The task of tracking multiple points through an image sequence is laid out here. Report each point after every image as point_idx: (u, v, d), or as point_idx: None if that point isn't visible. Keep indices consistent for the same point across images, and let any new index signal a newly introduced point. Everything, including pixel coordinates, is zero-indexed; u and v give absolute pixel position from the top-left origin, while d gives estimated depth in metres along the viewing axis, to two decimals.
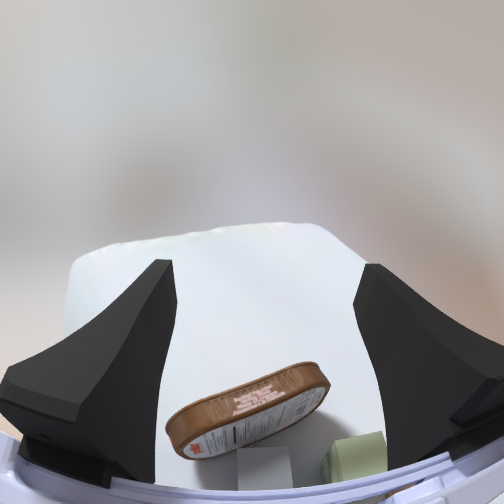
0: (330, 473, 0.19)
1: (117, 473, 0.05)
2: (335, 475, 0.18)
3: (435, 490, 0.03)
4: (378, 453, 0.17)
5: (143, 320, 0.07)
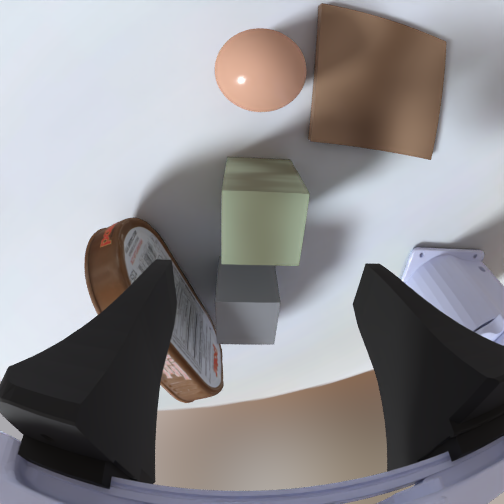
0: None
1: (117, 474, 0.05)
2: None
3: (435, 490, 0.03)
4: (265, 208, 0.14)
5: (143, 320, 0.07)
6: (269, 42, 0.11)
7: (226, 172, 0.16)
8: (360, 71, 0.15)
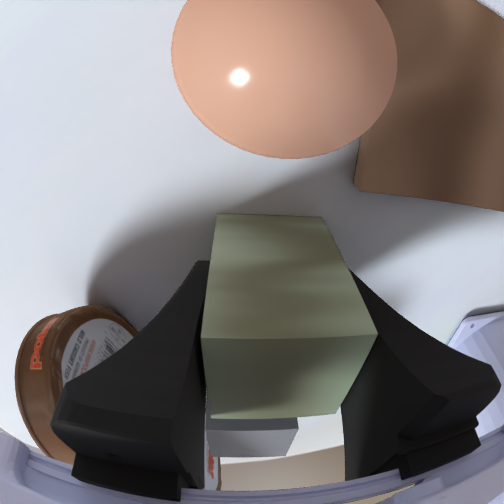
0: None
1: (183, 484, 0.05)
2: None
3: (435, 490, 0.03)
4: (289, 361, 0.07)
5: (200, 323, 0.07)
6: None
7: (213, 262, 0.08)
8: (442, 75, 0.07)
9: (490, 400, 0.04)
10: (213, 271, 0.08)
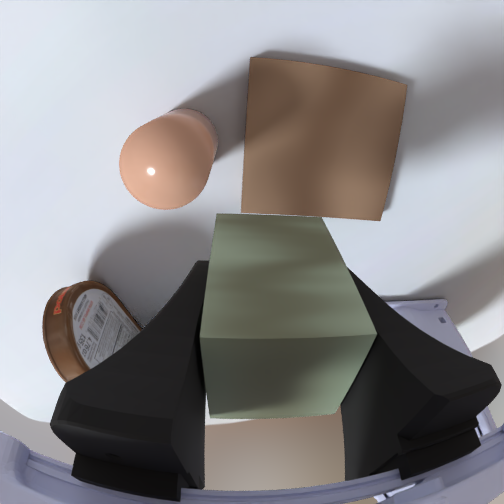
0: None
1: (183, 484, 0.05)
2: None
3: (435, 490, 0.03)
4: (288, 361, 0.07)
5: (200, 323, 0.08)
6: (169, 135, 0.11)
7: (213, 262, 0.08)
8: (295, 134, 0.15)
9: (490, 400, 0.04)
10: (212, 271, 0.08)
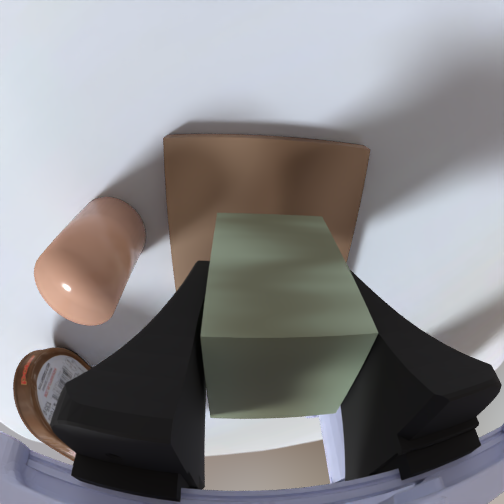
0: None
1: (183, 484, 0.05)
2: None
3: (435, 490, 0.03)
4: (289, 360, 0.07)
5: (200, 323, 0.07)
6: (69, 264, 0.10)
7: (213, 261, 0.08)
8: None
9: (490, 400, 0.04)
10: (213, 270, 0.08)
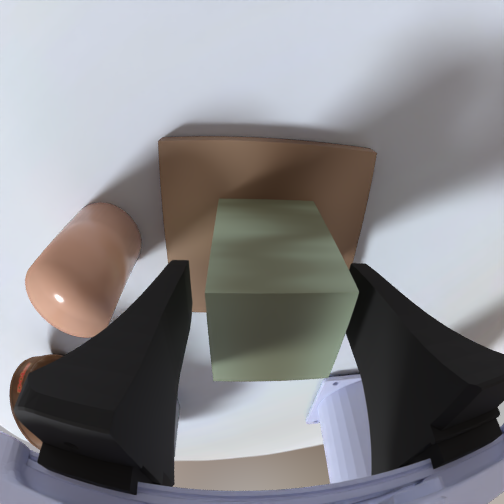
0: None
1: (142, 478, 0.05)
2: None
3: (435, 490, 0.03)
4: (281, 316, 0.08)
5: (165, 322, 0.07)
6: (60, 276, 0.09)
7: (216, 236, 0.10)
8: None
9: None
10: (215, 243, 0.09)
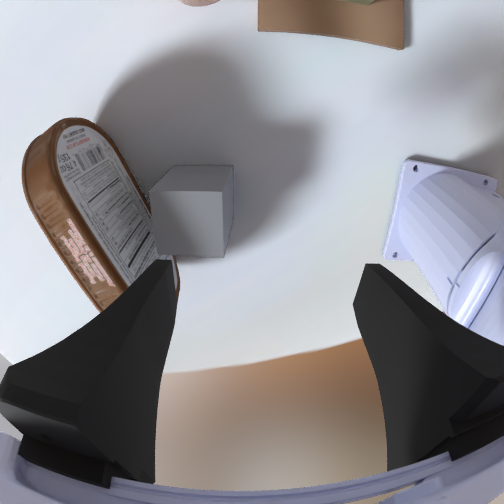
0: None
1: (117, 473, 0.05)
2: None
3: (435, 490, 0.03)
4: None
5: (143, 320, 0.07)
6: None
7: None
8: None
9: None
10: None
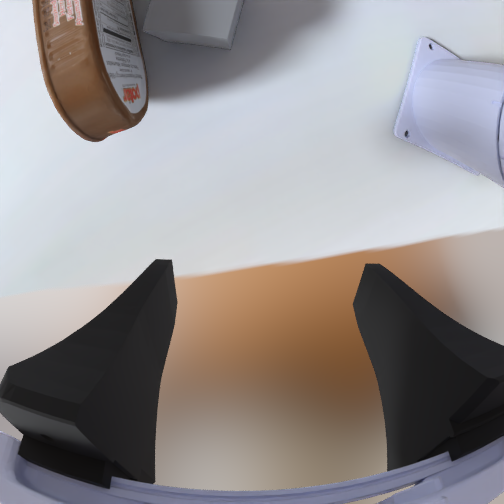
0: None
1: (117, 474, 0.05)
2: None
3: (435, 490, 0.03)
4: None
5: (143, 320, 0.07)
6: None
7: None
8: None
9: None
10: None
